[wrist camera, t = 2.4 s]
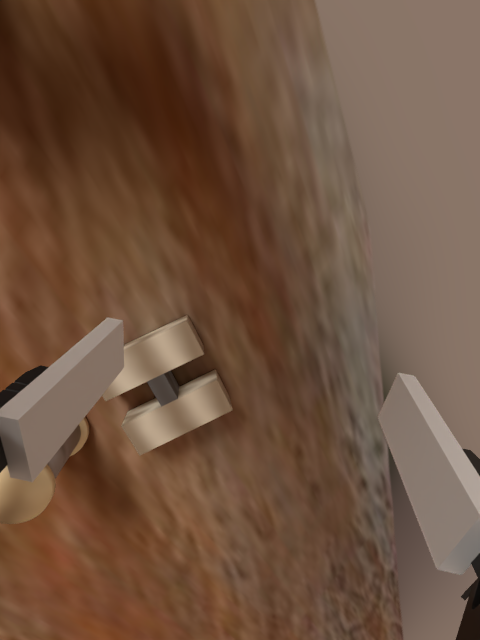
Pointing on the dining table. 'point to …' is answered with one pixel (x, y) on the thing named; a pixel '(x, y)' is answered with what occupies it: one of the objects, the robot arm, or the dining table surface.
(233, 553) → the dining table surface
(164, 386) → the slotted stand
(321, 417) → the dining table surface
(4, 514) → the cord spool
